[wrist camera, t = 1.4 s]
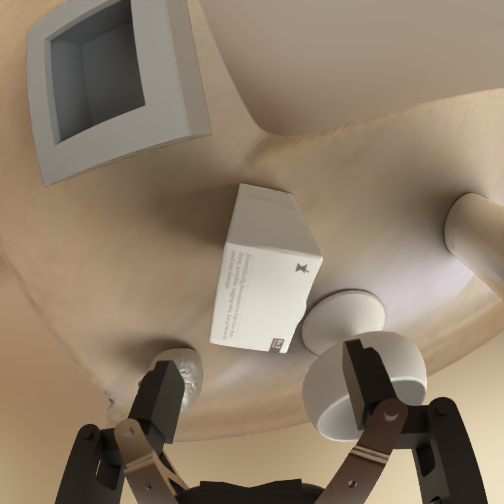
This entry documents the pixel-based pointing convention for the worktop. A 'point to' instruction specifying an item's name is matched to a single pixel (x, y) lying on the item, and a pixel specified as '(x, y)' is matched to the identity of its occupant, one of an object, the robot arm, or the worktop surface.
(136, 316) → the worktop surface
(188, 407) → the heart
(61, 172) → the open gray box
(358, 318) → the chalice
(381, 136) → the worktop surface
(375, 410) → the robot arm
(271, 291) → the skincare box
